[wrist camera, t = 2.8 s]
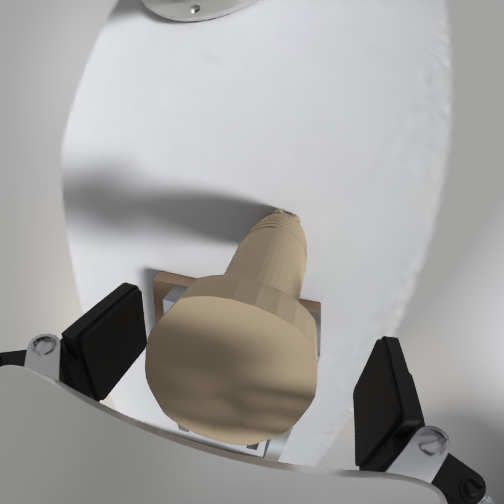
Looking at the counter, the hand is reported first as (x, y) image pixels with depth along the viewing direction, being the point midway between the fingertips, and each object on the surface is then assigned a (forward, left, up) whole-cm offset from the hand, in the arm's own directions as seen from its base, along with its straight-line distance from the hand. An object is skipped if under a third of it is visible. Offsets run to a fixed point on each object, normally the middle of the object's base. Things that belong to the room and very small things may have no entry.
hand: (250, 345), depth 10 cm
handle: (-1, 0, -12) cm, 12 cm away
